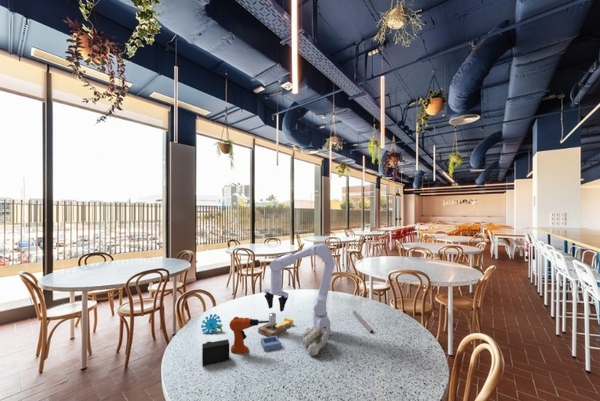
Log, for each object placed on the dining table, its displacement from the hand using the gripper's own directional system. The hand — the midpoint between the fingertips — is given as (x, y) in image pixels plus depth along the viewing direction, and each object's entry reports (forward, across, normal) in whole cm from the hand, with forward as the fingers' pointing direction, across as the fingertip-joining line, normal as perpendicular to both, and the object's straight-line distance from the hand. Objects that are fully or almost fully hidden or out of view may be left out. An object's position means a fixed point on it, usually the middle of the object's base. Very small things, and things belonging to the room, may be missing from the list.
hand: (276, 309), depth 137 cm
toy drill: (+11, -4, +23) cm, 26 cm away
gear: (+11, +27, +19) cm, 35 cm away
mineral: (+11, -26, +4) cm, 29 cm away
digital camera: (+11, +2, +35) cm, 37 cm away
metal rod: (+11, -33, -34) cm, 48 cm away
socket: (+10, 0, 0) cm, 11 cm away
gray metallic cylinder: (+10, 0, +3) cm, 11 cm away
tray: (+10, -8, +14) cm, 19 cm away
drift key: (+10, -1, -5) cm, 11 cm away
